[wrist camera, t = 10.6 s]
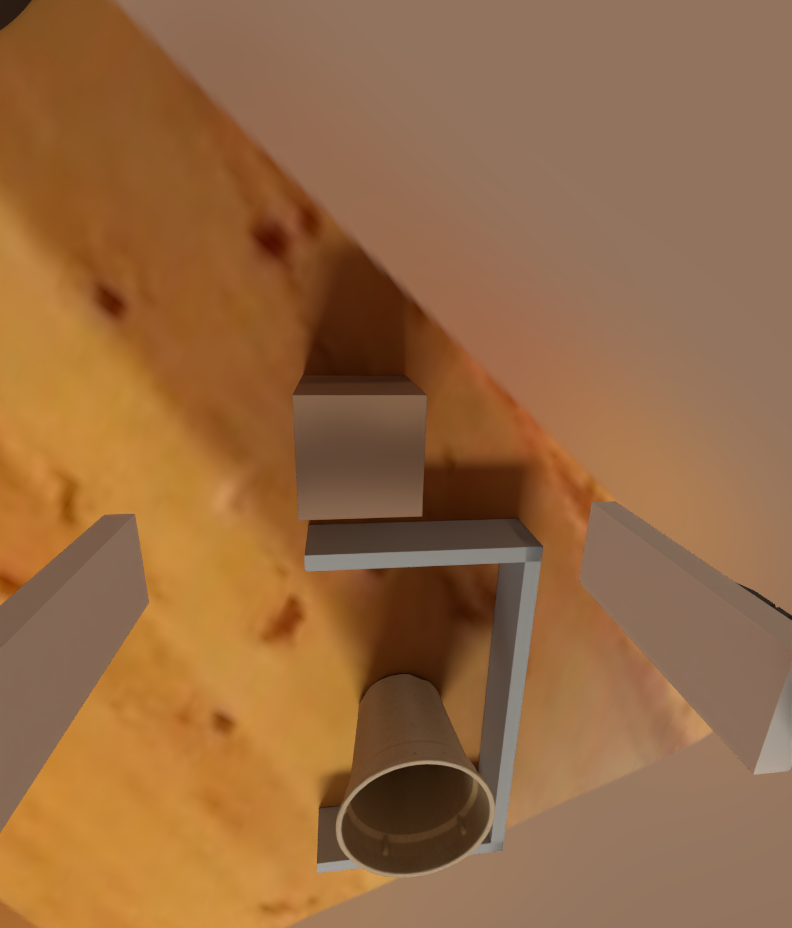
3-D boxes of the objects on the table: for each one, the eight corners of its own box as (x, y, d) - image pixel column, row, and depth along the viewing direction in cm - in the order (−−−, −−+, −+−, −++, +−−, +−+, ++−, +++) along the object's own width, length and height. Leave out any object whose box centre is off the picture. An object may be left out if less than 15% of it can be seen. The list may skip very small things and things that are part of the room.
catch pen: (308, 524, 30) (304, 555, 26) (518, 518, 32) (543, 546, 28) (319, 817, 38) (317, 873, 34) (486, 799, 40) (502, 850, 36)
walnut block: (302, 375, 27) (292, 395, 20) (405, 375, 28) (427, 395, 21) (306, 472, 29) (298, 520, 22) (402, 471, 30) (422, 516, 23)
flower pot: (309, 707, 34) (300, 830, 26) (406, 630, 33) (428, 734, 25) (391, 770, 37) (406, 899, 29) (483, 702, 36) (525, 815, 28)
